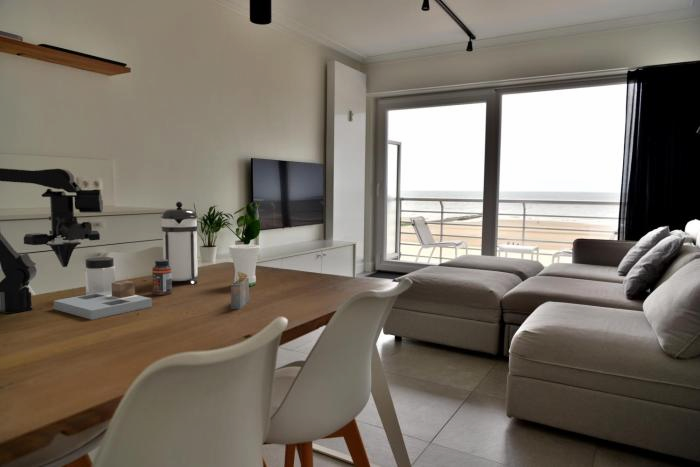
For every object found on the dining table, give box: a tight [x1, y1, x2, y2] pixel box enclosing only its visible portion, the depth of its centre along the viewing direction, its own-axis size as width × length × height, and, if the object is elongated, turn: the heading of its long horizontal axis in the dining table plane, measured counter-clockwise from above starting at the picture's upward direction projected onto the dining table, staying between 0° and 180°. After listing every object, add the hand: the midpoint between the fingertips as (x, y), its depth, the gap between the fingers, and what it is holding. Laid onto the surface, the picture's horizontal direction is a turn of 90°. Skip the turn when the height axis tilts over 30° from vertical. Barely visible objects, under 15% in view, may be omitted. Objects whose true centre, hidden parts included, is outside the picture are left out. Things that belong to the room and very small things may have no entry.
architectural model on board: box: [230, 272, 250, 310], centre depth 150 cm, size 11×3×10 cm, turn 178°
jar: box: [84, 256, 116, 295], centre depth 160 cm, size 9×8×12 cm
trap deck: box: [53, 290, 153, 321], centre depth 144 cm, size 18×20×2 cm
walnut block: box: [112, 280, 136, 298], centre depth 149 cm, size 5×5×4 cm
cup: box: [228, 244, 261, 287], centre depth 180 cm, size 11×11×14 cm
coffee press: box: [160, 201, 198, 285], centre depth 184 cm, size 17×16×30 cm
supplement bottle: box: [151, 258, 173, 296], centre depth 163 cm, size 6×6×11 cm
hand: (64, 266), depth 143 cm, fingers closed
